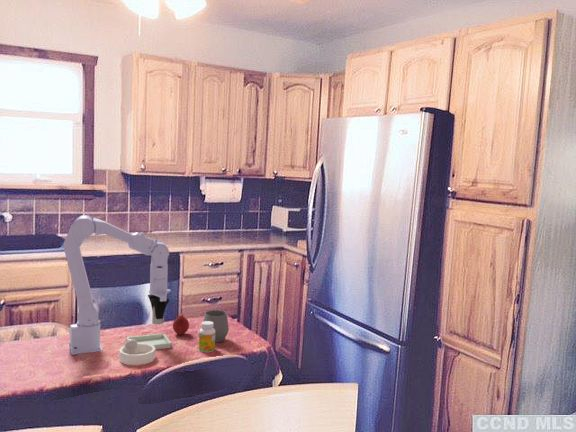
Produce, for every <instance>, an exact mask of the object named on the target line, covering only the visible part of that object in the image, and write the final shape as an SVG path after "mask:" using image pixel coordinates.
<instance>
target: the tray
mask: <svg viewBox="0 0 576 432" xmlns="http://www.w3.org/2000/svg"><path fill="white" fill-rule="evenodd" d="M129 339H134V340H136V341H137V343H144V344H150V345H153V346H154V347H155V348H156V350H162V349H163V350H164V349H170V348H171V349H172V347H173V345H172V341H171V340H170V339H169V338H168V337H167V335H166V334H165V333H162V332H161V333H153V334H146V335H133V336H126V337H125V342H126V341H127V340H129Z"/></svg>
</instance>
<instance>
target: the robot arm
mask: <svg viewBox="0 0 576 432" xmlns="http://www.w3.org/2000/svg"><path fill="white" fill-rule="evenodd" d="M93 234H95V236H100V235H107V236H109V237H112V238H114V239H117V240H120V241H122V242H125V243H127V244H128V247H129V249H132V250H134V251H136V252H138V253H141V254H143V255H145V256H151V257H150V259H151V260H150V269H149V270H150V271H149V291H148V293H149V294H147V297H148V299H149V302H150V305H151V311H152V310H153V307H154V308H155V316H156V319H163V316H164V317H165V311H166V308H167V305H168V303H170V298H168V297H167V295H168V293H171V289H170V288H169V289H168V275H169V274H168V272H169V271H168V268H169V266H168V260H169V259H168V258H169V256H170V250H169V248H168V247H167V245H166V243H164V242H162V241H161V240H158V238H151V237H149V236H146V235H145V233H144V232H142V231H141V232H138V231H137V232H134V233H130V232H128V231H126V230H124V229H122V228H120V227H117V226H116V225H113V224H111V223H109V222H107V221H106V220H102V219H99V218H96V217H92V216H90V215H88V214H87V215H86V214H83V215H80V216H78V217H76V219H75V220H74V221H73V222H72V223H71V226H70V228H69V230H68V232H67V234H66V236H65V239H64V241H63V244H62V246H63V251H64V255H65V258H66V262H67V266H68V270H69V273H70V276H71V281H72V285H73V289H74V292H75V295H76V301H77V307H78V314H77V319H78V320H77V321H76V323H74V324H69V343H68V344H69V345H68V346H69V349H70V350H69V351H70V354H71V355H72V356H74V355H77V354H86V353H87V354H88V353H95V352H102V351H103V348H102V345H101V320H100V319H99V317H100V314H99V312H100V306H99V304H98V303H97V301H96V300H95V298H94V295H93V293H92V290H91V287H90V282H89V279H88V275H87V271H86V266H85V263H84V258H83V256H82V251H81V245H82V244H83V243H84V242H85V241H86V239H88V238H90V237H91V236H92V235H93Z"/></svg>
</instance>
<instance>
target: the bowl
mask: <svg viewBox="0 0 576 432" xmlns="http://www.w3.org/2000/svg"><path fill="white" fill-rule="evenodd" d="M137 344H138V348H137V355H136V354H127V353H125V345H123V346H121V347H120V348H119V349H118V360H119V362H120V363H122V364H124V365H128V366H138V365H139V366H140V365H141V366H142V365H146V364H149V363H151V362H153V361H154V360H155V359H156V354H157V353H156V350H157V349H156V348H155V347H154V346H153V345H150V344H144V343H137Z"/></svg>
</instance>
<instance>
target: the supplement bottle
mask: <svg viewBox="0 0 576 432" xmlns="http://www.w3.org/2000/svg"><path fill="white" fill-rule="evenodd" d="M203 321H204V320H203ZM203 321H202V322H201V324H200V325H201V328H200V329H199V331H198V351H199V352H201V353H211V352H214V351H215V350H216V348H215V347H216V342H215V329H214V328H213V326H214V324H213V322H211V321H204V322H203Z"/></svg>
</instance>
